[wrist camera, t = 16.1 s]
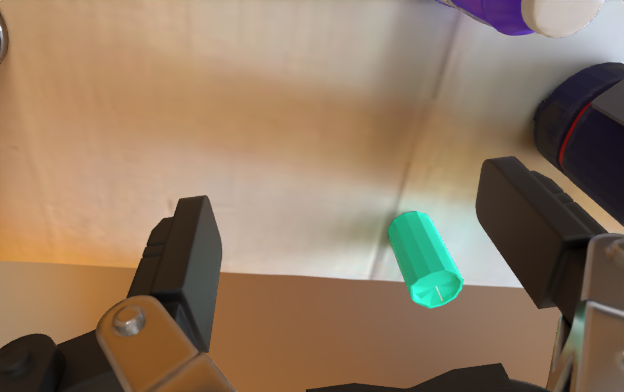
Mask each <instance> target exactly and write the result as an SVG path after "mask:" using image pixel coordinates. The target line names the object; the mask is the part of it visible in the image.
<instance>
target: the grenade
mask: <svg viewBox="0 0 624 392" xmlns="http://www.w3.org/2000/svg"><path fill="white" fill-rule="evenodd" d="M533 120H534V121H535V128H534V140H535V144H536V147H537V149H538V151H539V152H540V153H541V154H542V156H543V157H544V158H546V159H547V160H548V161H549V162H550V163H551V164H552V165H554V166H555V167H556V168H557V169H558V170H559V171H561V172H562V173H563V174H564V175H565V176H567V177H568V178H569V179H570V180H571V181H572V182H573V183H574V184H575V185H576V186H578V187H579V188H580V189H581V190H582V191H583V192H584V193H586V194H587V195H588V196H589V197H590V198H591V199H592V200H594V201H595V202H596V203H597V204H598V205H599V206H601V207H602V208H603V209H604V210H605V211H606V212H607V213H609V214H610V215H611V216H612V217H613V218H614V219H616V220H617V221H618V222H619V223H620V224H621V225H622V226H624V64H622V63H611V62H607V63H602V64H597V65H593V66H591V67H589V68H586V69H584V70H581V71H580V72H578V73H576V74H575V75H573V76H571V77H570V78H568V79H567V80H566V81H565V82H563V83H562V84H561V85H560V86H559V87H557V88H556V90H555V91H554V92H553V93H552V94H551V95H550V96H549V98H548V99H547V100H546V102H544V101H542V103H541V104H540V106H539V107H538V109H537V111H536V114H535V116H534V119H533Z"/></svg>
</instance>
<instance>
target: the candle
mask: <svg viewBox="0 0 624 392" xmlns="http://www.w3.org/2000/svg"><path fill="white" fill-rule="evenodd" d="M388 238H389V241H390V243H391V246H392V249H393V251H394V254H395V257H396V259H397V262H398V265H399V267H400V270H401V273H402V275H403V278H404V281H405V283H406V286H407V289H408V291H409V294H410V297H411V299H412V300H414V301H415V302H416V303H417V304H420V305H422V306H425V307H428V308H433V307H438V306H442V305H444V304H446V303H448V302H450V301H451V300H453V299H455V298H456V296H457V295H458V293H459V292H460V291H461V289H462V286H463V278H462V276H461V274H460V272H459V271H458V269H457V267H456V265H455V263H454V261H453V259H452V257H451V256H450V254H449V252H448V250H447V248H446V246H445V244H444V243H443V241H442V239H441V237H440V235H439V233H438V231H437V230H436V228H435V226H434V224H433V222H432V221H431V219H430V218H429V217H428V216H427V214H424V213H421V212H417V211H414V212H408V213H403V214H402V215H400V216H399V217H397V218H396V219H394V220H393V221H392V223H391V225H390V226H389V228H388Z"/></svg>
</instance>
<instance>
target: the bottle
mask: <svg viewBox="0 0 624 392" xmlns="http://www.w3.org/2000/svg"><path fill="white" fill-rule="evenodd" d="M436 1H438V2H440V3H442V4H444V5H447V6H449V7H452V8H457V9H459V10H461V11H463V12H464V13H466V14H467V15H468V16H470V17H472V18H473V19H475V20H477V21H479V22H481V23H483V24H486V25H489V26H492V27H494V28H495V29H496V30H497V31H499V32H501V33H503V34H506V35H511V36H519V35H526V34H531V33H534V32H536V33H539V34H542V35H544V36H547V37H551V38H561V37H566V36H569V35H572V34H574V33H576V32H578V31H579V30H581V29H582V28H584V27H585V26H586V25H587V24H588V23H589V22H590V21H591V20H592V19H593V18H594V17H595V16H596V15H597V13H598V11H599V10H600V8H601V7H602V5H603V3H604V1H605V0H436Z"/></svg>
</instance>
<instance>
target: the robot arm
mask: <svg viewBox="0 0 624 392" xmlns="http://www.w3.org/2000/svg"><path fill="white" fill-rule="evenodd" d="M7 49H8V33H7V29H6V25H5V22H4V19H3V17H2V15H1V13H0V64H1V62H2V61H3V59H4V57H5V55H6V53H7ZM476 214H477V218H478V221H479V223H480V224H481V226H482V227H483V229H484V230H485V232H486V233H487V235H488V236H489V238H490V239H491V240H492V242H493V243H494V245H495V246H496V248H497V249H498V251H499V252H500V254H501V255H502V256H503V258H504V259H505V261H506V262H507V264H508V265H509V267H510V268H511V270H512V271H513V273H514V274H515V275H516V277H517V278H518V280H519V281H520V283H521V284H522V286H523V287H524V289H525V290H526V292H527V293H528V294H529V296H530V297H531V299H532V300H533V302H534V303H535V305H536V306H537V308H538V309H543V308H550V307H558V308H559V310H560V311H561V312H562V313H561V316H560V318H559V321H558V327H557V332H556V338H555V344H554V349H553V355H552V360H551V366H550V372H549V377H548V382H547V386H546V389H545V388H543V387H540V386H537V385H534V384H531V383H528V382H524V381H519V380H515V379H509V377H508V375H507V373H506V372H505V370H504V368H503V366H502V364H501V363H498V364H490V365H482V366H475V367H468V368H461V369H453V370H451V371H449V372H446V373H444V374H442V375H439V376H437V377H435V378H432V379H430V380H428V381H426V382H423V383H421V384H418V385H416V386H414V387H411V388H407V389H402V388H393V387H384V386H375V385H367V384H358V383H352V384H344V385H336V386H329V387H323V388H315V389H307V390H306V392H624V234H617V233H608V232H607V231H606V230H605V229H604V228H603V227H602V226H601V225H600V224H599V223H598V222H597V221H596V220H595V219H593V218H592V217H591V216H590V215H589V214H588V213H587V212H586V211H585V210H584V209H583V208H582V207H581V206H580V205H578V204H577V203H576V202H573V199H572V198H571V197H570V196H569V195H568V194H567V193H564V192H563V190H562V189H561V188H560V187H559V186H558V185H557V184H556V183H555V182H554V181H553V180H552V179H550V178H548V177H546V176H544V175H542V174H540V173H538V172H536V171H529V170H528V169H527V168H526V167H525V166H524V165H523V164H522V163H521V162H520V161H519V160H518V159H517V158H516V157H514V156H509V157H501V158H494V159H487V160H485V161H484V162H483V164H482V168H481V174H480V180H479V186H478V192H477V198H476ZM142 256H143V258H141V260H140V263H139V266H138V268H137V271H136V274H135V276H134V279H133V282H132V284H131V287H130V290H129V292H128V295H127V298H126V299H125V300H122V301H121V302H119V303H117V304H116V305H114V306H113V307H111V308H110V309H109V310H108V311H107V312H106V313H105V314H104V315H103V316H102V318H101V319H100V321H99V322H98V325H97V328H96V329H95V330H93V331H91V332H89V333H86V334H83V335H81V336H78V337H76V338H73V339H71V340H68V341H65V342H63V343H60V344H58V345H56V344H55V343H54V341H53V340H52V339H51V338H50V337H49V336H47V335H44V334H30V335H26V336H23V337H20V338H18V339H16V340H14V341H11V342H10V343H8V344H7V345H5V346H3V347H2V348H1V349H0V392H237V391H236V389H235V388H234V387H233V386H232V384H231V383H230V382H229V381H228V379H227V378H226V377H225V376H224V374H223V373H222V372H221V371H220V370H219V368H218V367H217V366H216V364H215V363H214V362H213V361H212V360H211V358H210V357H209V356H208V355H207V354H206V353H208V352H209V346H210V339H211V332H212V325H213V318H214V310H215V303H216V296H217V289H218V282H219V275H220V268H221V261H222V243H221V237H220V234H219V230H218V227H217V224H216V220H215V217H214V214H213V210H212V207H211V204H210V201H209V198H208V197H207V196H206V195H204V196H196V197H188V198H181V199H179V201H178V204H177V207H176V210H175V213H174V216H173V217H169V218H163V219H162V220H161V221H160V222H159V223H158V225H157V226H156V227H155V228H154V229H153V230H152V231H151V234H150V236H149V239H148V242H147V247H145V250H144V252H143V255H142Z"/></svg>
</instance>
